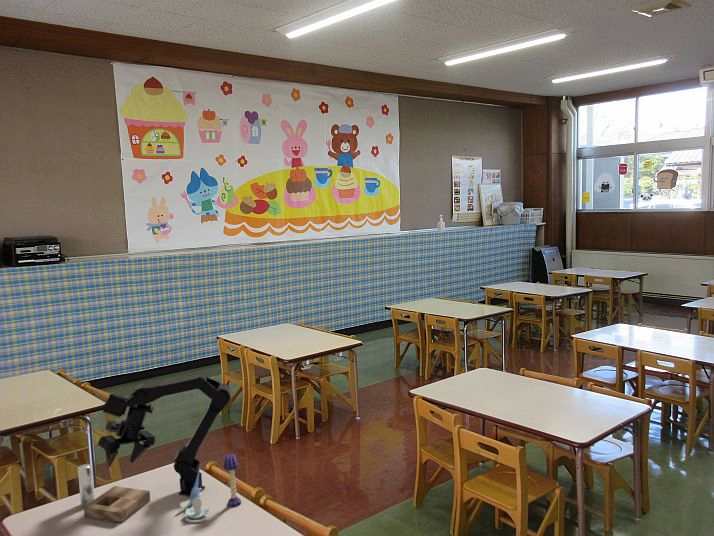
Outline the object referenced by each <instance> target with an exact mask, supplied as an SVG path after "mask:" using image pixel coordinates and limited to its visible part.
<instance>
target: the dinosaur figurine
mask: <svg viewBox="0 0 714 536" xmlns="http://www.w3.org/2000/svg"><path fill="white" fill-rule="evenodd" d="M201 465H202V464H201V463H200V467H199V471H198V474H197V478H196V481H195V484H194V487H193V488H192V491H191V496H189V499H186V500H185V501H181V502H180V503H179V506H180V510H181V511H185V512H186V509H188V508H189V507H190V505H192V501H193V499H194V498H196V497H198V498H200V497H201V495H202V492H203V490H202V488H198V481H199V472H200V471H201ZM200 490H201V492H200Z"/></svg>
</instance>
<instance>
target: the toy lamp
mask: <svg viewBox="0 0 714 536" xmlns="http://www.w3.org/2000/svg"><path fill="white" fill-rule="evenodd" d="M238 467H239V462H238V459H237V456H236V454H235V453H232V452H231V453H227V454H226V455H225V457H224V462H223V468H224V470H225V471H226V470H227V471H228V476H229V485H230V487H229V488H230V494H231V495H230V497H231V498H229V499H228V501H227V506H228V507H231V508H235V507H238V506H240V505H241V504H242V500H241V498H240V497H238V494H237V485H236V476H235V475H236V473H235V470H236V469H237V468H238Z"/></svg>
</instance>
